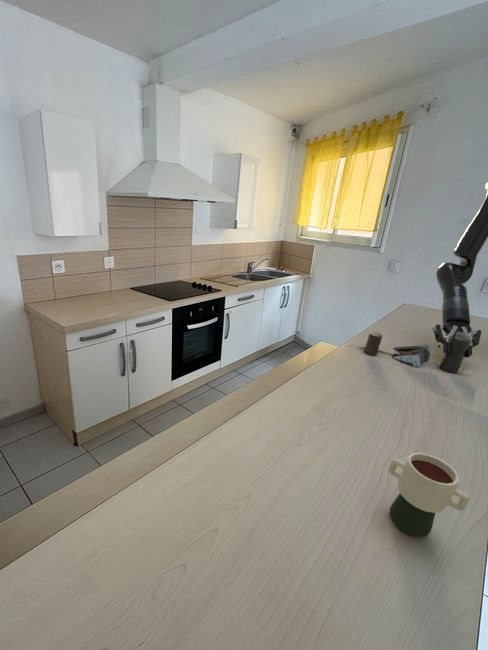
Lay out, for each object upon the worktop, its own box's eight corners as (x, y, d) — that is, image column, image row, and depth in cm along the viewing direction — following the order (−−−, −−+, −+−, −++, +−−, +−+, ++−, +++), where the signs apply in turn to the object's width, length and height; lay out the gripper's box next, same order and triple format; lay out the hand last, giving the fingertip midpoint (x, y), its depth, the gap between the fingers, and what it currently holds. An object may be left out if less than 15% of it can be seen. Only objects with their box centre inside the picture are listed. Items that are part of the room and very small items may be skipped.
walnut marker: (376, 352, 125) (382, 333, 122) (376, 356, 121) (382, 337, 118) (363, 349, 127) (369, 331, 124) (363, 354, 123) (369, 334, 120)
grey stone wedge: (383, 358, 122) (414, 347, 111) (390, 348, 125) (420, 337, 115) (400, 378, 121) (432, 369, 111) (406, 367, 125) (438, 358, 114)
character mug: (448, 531, 56) (478, 476, 51) (440, 559, 52) (472, 502, 47) (381, 492, 63) (401, 440, 58) (368, 514, 59) (389, 459, 54)
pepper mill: (455, 368, 115) (471, 332, 110) (459, 375, 111) (475, 337, 106) (438, 365, 117) (452, 329, 112) (440, 371, 113) (455, 334, 108)
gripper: (438, 304, 114) (439, 347, 108) (486, 309, 111) (490, 355, 105) (427, 313, 121) (428, 355, 115) (472, 319, 117) (475, 362, 112)
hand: (457, 355), depth 110 cm, fingers closed on pepper mill, 5 cm apart
